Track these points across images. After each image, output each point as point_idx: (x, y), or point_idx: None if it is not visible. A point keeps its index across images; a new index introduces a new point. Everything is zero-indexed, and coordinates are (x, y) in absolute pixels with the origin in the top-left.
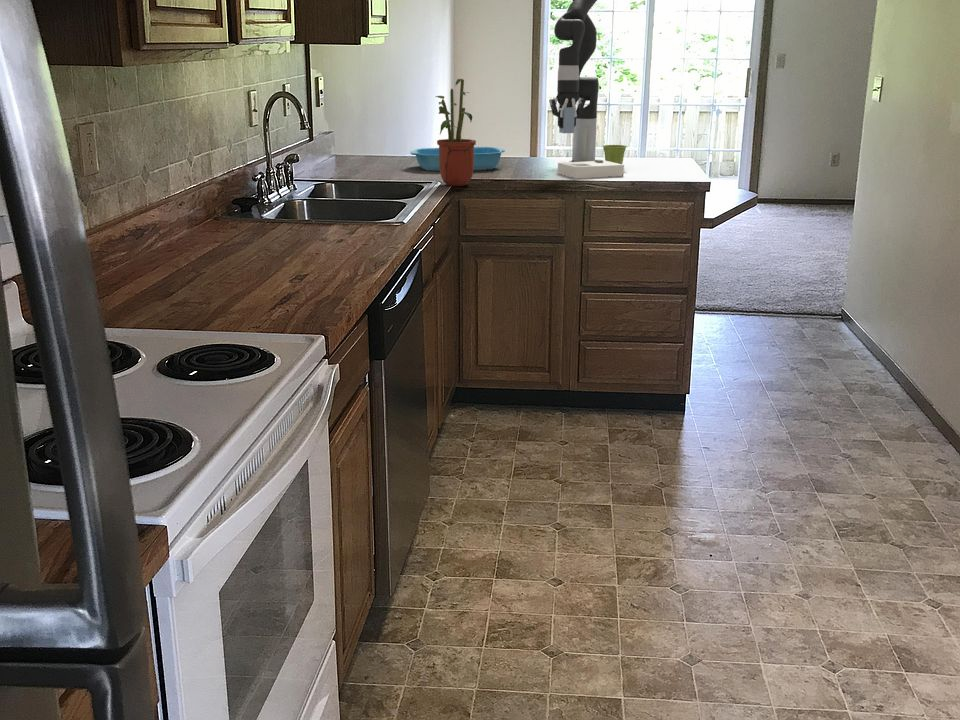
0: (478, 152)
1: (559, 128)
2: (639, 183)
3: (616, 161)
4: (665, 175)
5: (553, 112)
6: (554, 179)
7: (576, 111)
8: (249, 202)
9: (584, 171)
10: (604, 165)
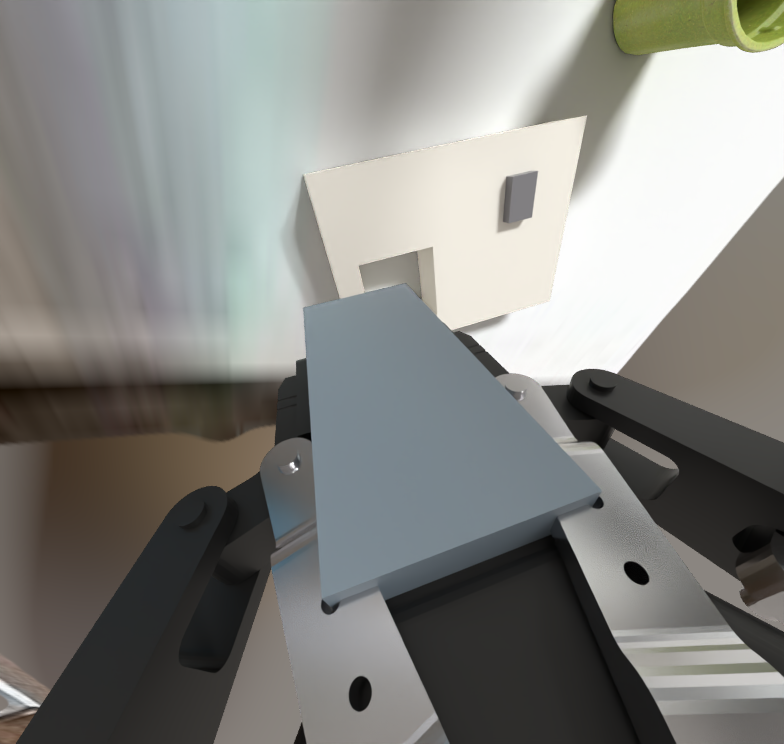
0: None
1: (305, 329)
2: None
3: (665, 48)
4: (628, 285)
5: (171, 562)
6: (273, 357)
7: (603, 417)
8: None
9: None
10: (480, 314)
